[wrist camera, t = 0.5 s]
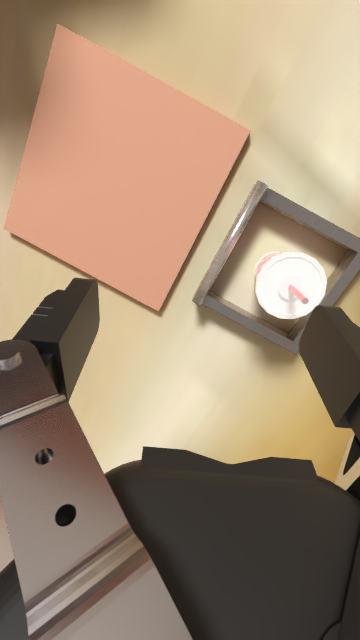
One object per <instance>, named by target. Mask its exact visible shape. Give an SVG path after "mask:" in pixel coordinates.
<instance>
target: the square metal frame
mask: <svg viewBox="0 0 360 640" xmlns="http://www.w3.org/2000/svg"><path fill="white" fill-rule="evenodd" d="M267 187H268V186H267V185H266V184H264V183H263V182H260V181H257V182H256V183H255V185H254V186H253V188H252V190H251V192H250V194H249V195H248V197H247V199H246V201H245V203H244V205H243V206H242V208H241V210H240V212H239V214H238V216H237V217H236V219H235V221H234V223H233V225H232V227H231V228H230V230H229V232H228V234H227V236H226V238H225V239H224V241H223V243H222V245H221V247H220V249H219V250H218V252H217V254H216V256H215V258H214V260H213V261H212V263H211V265H210V267H209V269H208V271H207V272H206V274H205V276H204V278H203V280H202V282H201V283H200V285H199V287H198V289H197V291H196V292H195V294H194V297H193V299H192V301H193V302H194V303H196V304H198V305H201V304H203V305H205V306H207V307H209V308H211V309H213V310H214V311H216V312H218V313H220V314H222V315H224V316H226V317H227V318H229V319H231V320H233V321H235V322H237V323H239V324H240V325H242V326H244V327H246V328H248V329H250V330H252V331H253V332H255V333H257V334H259V335H261V336H263V337H265V338H267V339H268V340H270V341H272V342H274V343H276V344H278V345H280V346H281V347H283V348H285V349H287V350H289V351H291V352H293V353H294V354H297V353H298V351H299V341H300V338H301V335H302V333H303V331H304V329H305V327H306V324H307V322H308V320H309V318H310V315H311V313H312V311H313V310H312V311H311V312H310V313H308V314H307V315H305V316H302V317H301V318H300V319H299V320H298V322H297V323H296V325H295V326H294V327H293V329H292V330H291V332H290V333H289V334H288V333H286V332H284V331H282V330H280V329H278V328H277V327H275V326H273V325H271V324H269V323H267V322H266V321H264V320H262V319H260V318H258V317H256V316H254V315H253V314H251V313H249V312H247V311H245V310H243V309H241V308H240V307H238V306H236V305H234V304H232V303H230V302H228V301H227V300H225V299H223V298H221V297H219V296H217V295H215V294H214V293H212V292H210V291H209V290H210V289H211V287H212V285H213V283H214V281H215V280H216V278H217V276H218V274H219V273H220V271H221V269H222V267H223V265H224V264H225V262H226V260H227V258H228V257H229V255H230V253H231V251H232V250H233V248H234V246H235V244H236V242H237V241H238V239H239V237H240V235H241V234H242V232H243V230H244V228H245V226H246V225H247V223H248V221H249V219H250V218H251V216H252V214H253V212H254V210H255V209H256V207H257V205H258V203H259V202H261V203H263V204H265V205H267V206H269V207H271V208H272V209H274V210H276V211H278V212H280V213H281V214H283V215H285V216H287V217H289V218H291V219H292V220H294V221H296V222H298V223H300V224H302V225H303V226H305V227H307V228H309V229H311V230H312V231H314V232H316V233H318V234H320V235H322V236H323V237H325V238H327V239H329V240H331V241H332V242H334V243H336V244H338V245H340V246H342V247H343V248H345V249H347V250H349V251H348V252H347V253H346V255H345V256H344V258H343V259H342V260H341V262H340V263H339V265H338V266H337V267H336V269H335V270H334V271H333V273H332V274H331V276H330V277H329V278H328V280H327V285H326V291H325V295H324V297H323V299H322V300H321V302H320V303H319V305H324V306H333V304H334V303H335V302H336V300H337V299H338V298H339V296H340V295H341V294H342V292H343V291H344V290H345V288H346V287H347V286H348V284H349V283H350V282H351V280H352V279H353V278H354V276H355V275H356V274H357V272H358V271H359V270H360V238H358V237H356V236H354V235H353V234H351V233H349V232H347V231H345V230H344V229H342V228H340V227H338V226H336V225H334V224H333V223H331V222H329V221H327V220H325V219H324V218H322V217H320V216H318V215H316V214H315V213H313V212H311V211H309V210H307V209H305V208H304V207H302V206H300V205H298V204H296V203H295V202H293V201H291V200H289V199H287V198H285V197H284V196H282V195H280V194H278V193H276V192H275V191H273V190H271V189H269V188H267Z"/></svg>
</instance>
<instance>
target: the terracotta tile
mask: <svg viewBox="0 0 360 640" xmlns="http://www.w3.org/2000/svg"><path fill="white" fill-rule="evenodd" d="M250 131H251V130H249V129H247V128H245V127H243V126H242V125H240V124H238V123H236V122H234V121H233V120H231V119H229V118H227V117H225V116H224V115H222V114H220V113H218V112H216V111H215V110H213V109H211V108H209V107H207V106H206V105H204V104H202V103H200V102H198V101H197V100H195V99H193V98H191V97H189V96H188V95H186V94H184V93H182V92H180V91H179V90H177V89H175V88H173V87H171V86H170V85H168V84H166V83H164V82H162V81H161V80H159V79H157V78H155V77H153V76H152V75H150V74H148V73H146V72H144V71H143V70H141V69H139V68H137V67H135V66H134V65H132V64H130V63H128V62H126V61H125V60H123V59H121V58H119V57H117V56H116V55H114V54H112V53H110V52H108V51H107V50H105V49H103V48H101V47H99V46H98V45H96V44H94V43H92V42H90V41H89V40H87V39H85V38H83V37H81V36H80V35H78V34H76V33H74V32H72V31H71V30H69V29H67V28H65V27H63V26H62V25H60V24H58V23H57V26H56V30H55V34H54V38H53V42H52V46H51V50H50V53H49V57H48V61H47V65H46V69H45V73H44V76H43V80H42V84H41V88H40V92H39V96H38V100H37V103H36V107H35V111H34V115H33V119H32V123H31V127H30V130H29V134H28V138H27V142H26V146H25V150H24V153H23V157H22V161H21V165H20V169H19V173H18V177H17V180H16V184H15V188H14V192H13V196H12V200H11V203H10V207H9V211H8V215H7V219H6V223H5V227H4V229H5V230H7V231H9V232H11V233H13V234H15V235H16V236H18V237H20V238H22V239H24V240H26V241H28V242H29V243H31V244H33V245H35V246H37V247H39V248H41V249H43V250H44V251H46V252H48V253H50V254H52V255H54V256H56V257H58V258H59V259H61V260H63V261H65V262H67V263H69V264H71V265H73V266H74V267H76V268H78V269H80V270H82V271H84V272H86V273H87V274H89V275H91V276H93V277H95V278H97V279H99V280H101V281H102V282H104V283H106V284H108V285H110V286H112V287H114V288H116V289H117V290H119V291H121V292H123V293H125V294H127V295H129V296H131V297H132V298H134V299H136V300H138V301H140V302H142V303H144V304H145V305H147V306H149V307H151V308H153V309H155V310H157V311H159V310H160V309H161V307H162V305H163V303H164V301H165V299H166V297H167V295H168V293H169V291H170V289H171V287H172V285H173V283H174V281H175V279H176V277H177V275H178V273H179V271H180V269H181V267H182V265H183V263H184V262H185V260H186V258H187V256H188V254H189V252H190V250H191V248H192V246H193V244H194V242H195V240H196V238H197V236H198V234H199V232H200V230H201V228H202V226H203V224H204V222H205V220H206V218H207V216H208V214H209V212H210V210H211V209H212V207H213V205H214V203H215V201H216V199H217V197H218V195H219V193H220V191H221V189H222V187H223V185H224V183H225V181H226V179H227V177H228V175H229V173H230V171H231V169H232V167H233V165H234V163H235V161H236V159H237V157H238V156H239V154H240V152H241V150H242V148H243V146H244V144H245V142H246V140H247V138H248V136H249V134H250Z"/></svg>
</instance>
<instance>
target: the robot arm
mask: <svg viewBox="0 0 360 640" xmlns="http://www.w3.org/2000/svg"><path fill="white" fill-rule="evenodd" d="M99 319H100V316H99V297H98V284H97V281H96V280H91V279H82V278H74V279H73V280H72V281H71V283H70V284H69V285H68V287H67V288H66V290H57V291H55V292H53V293H51V294H50V295H48V296H46V297H45V298H44V300H43V301H42V302H41V303H40V305H39V307H37V309H36V310H35V311H34V312H33V315H31V316H30V317H29V319H28V320H27V321H26V322H25V324H24V325H23V326H22V328H21V329H20V330H19V331H18V333H17V334H16V335H15V336H14V338H13V339H12V340H6V341H2V342H0V497H1V501H2V506H3V510H4V514H5V519H6V523H7V528H8V533H9V537H10V542H11V546H12V550H13V555H14V559H13V560H12V561H11V562H10V563H9V564H8V565H7V566H6V567H5V568H4V569H3V570H2V571H1V572H0V640H360V327H358V326H357V325H356V324H354V323H353V322H352V321H351V320H350V319H349V317H348V316H347V315H346V314H345V312H344V311H343V310H342V309H341V308H340V307H333V306H324V305H317V306H316V307H315V308H314V309H313V311H312V313H311V315H310V318H309V320H308V322H307V324H306V327H305V329H304V331H303V333H302V335H301V338H300V341H299V352H300V355H301V357H302V359H303V361H304V363H305V365H306V367H307V369H308V371H309V373H310V376H311V378H312V380H313V382H314V384H315V386H316V388H317V390H318V392H319V394H320V396H321V398H322V401H323V403H324V405H325V407H326V409H327V411H328V413H329V415H330V417H331V419H332V421H333V423H334V426H335V427H341V428H352V430H353V431H354V433H353V434H352V436H351V437H350V438H349V441H348V444H347V447H346V450H345V453H344V456H343V459H342V462H341V465H340V468H339V471H338V475H337V478H336V481H335V483H332V482H331V481H329V480H327V479H324V478H322V477H320V476H317V474H316V472H315V469H314V466H313V463H312V461H311V460H301V459H289V458H277V457H269V458H263V459H258V460H253V461H248V462H243V463H237V464H226V463H223V462H220V461H217V460H214V459H211V458H208V457H205V456H202V455H199V454H196V453H193V452H190V451H187V450H180V449H168V448H155V447H143V453H142V460H137V461H132V462H129V463H126V464H123V465H121V466H118V467H116V468H114V469H112V470H110V471H108V472H107V473H105V474H104V473H103V471H102V469H101V467H100V465H99V463H98V461H97V459H96V457H95V455H94V453H93V451H92V449H91V447H90V445H89V443H88V441H87V439H86V437H85V435H84V433H83V431H82V429H81V427H80V425H79V423H78V421H77V419H76V417H75V415H74V413H73V411H72V409H71V407H70V405H69V403H68V402H69V399H70V397H71V394H72V392H73V390H74V387H75V385H76V382H77V380H78V378H79V375H80V373H81V370H82V368H83V366H84V363H85V361H86V358H87V356H88V354H89V351H90V349H91V346H92V344H93V342H94V339H95V337H96V334H97V332H98V328H99Z"/></svg>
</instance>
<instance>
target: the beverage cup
mask: <svg viewBox="0 0 360 640" xmlns="http://www.w3.org/2000/svg"><path fill="white" fill-rule="evenodd" d="M254 275H255V279H256V285H255V292H256V295H257V298H258V301H259V304H260V305H261V306H262V307H263V308H264V309H265V310H266V312H267V313H269V314H271V315H273V316H275V317H277V318H281V319H295V318H298V317H302V316H305V315H307V314H308V313H310V312H311V311H312V310H313V309H314V308H315V307H316V306H317V305H319V303H320V302H321V300H322V299H323V297H324V295H325V291H326V285H327V279H326V275H325V272H324V269H323V267H322V266H321V265H320V264H319V263H318V261H317V260H316V259H315V258H313V257H310V256H308V255H306V254H304V253H301V252H285V253H283V252H271V253H268V254H265V255H264V256H263V257H262V258H260V259H259V261H258V263H257V264H256V266H255V274H254Z"/></svg>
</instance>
